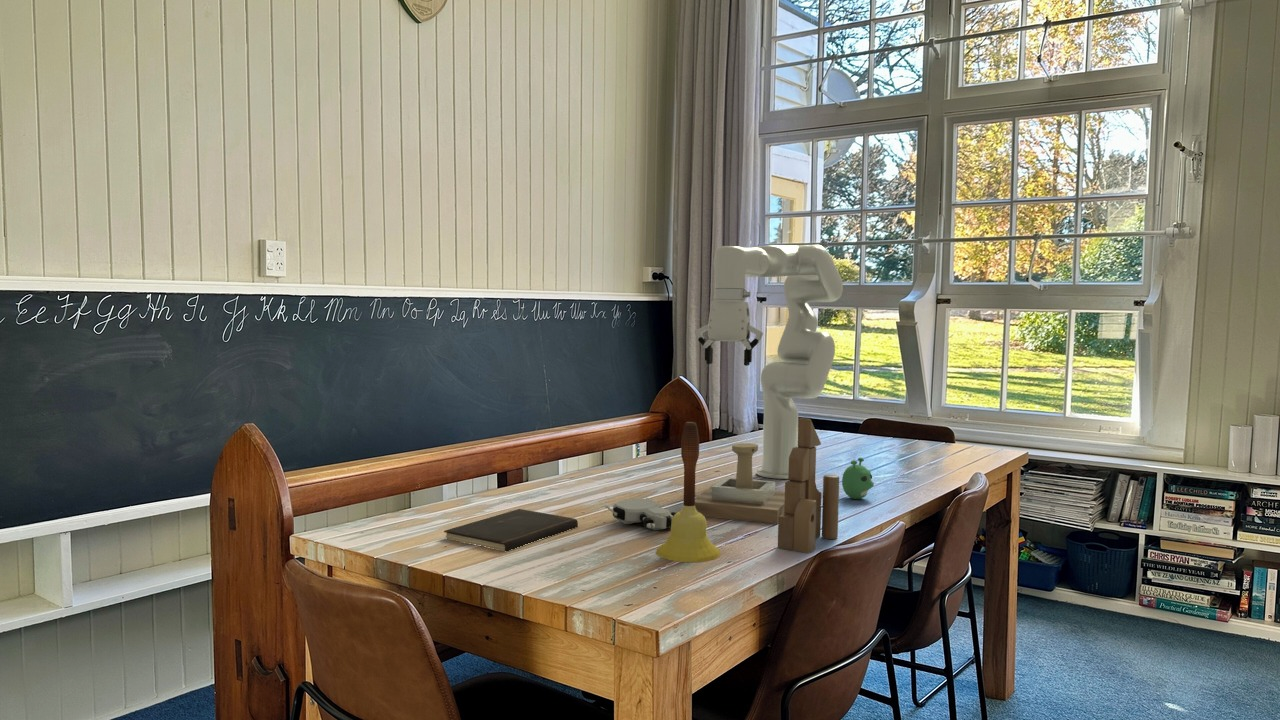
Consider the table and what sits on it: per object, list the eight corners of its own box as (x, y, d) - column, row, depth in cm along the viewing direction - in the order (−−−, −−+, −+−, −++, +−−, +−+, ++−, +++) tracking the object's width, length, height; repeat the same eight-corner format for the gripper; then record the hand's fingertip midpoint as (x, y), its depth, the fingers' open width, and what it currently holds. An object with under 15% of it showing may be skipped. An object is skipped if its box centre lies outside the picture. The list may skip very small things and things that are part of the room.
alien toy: (866, 503, 212) (867, 462, 212) (836, 499, 217) (837, 458, 216) (877, 498, 218) (879, 458, 217) (848, 494, 223) (849, 455, 222)
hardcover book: (444, 542, 175) (444, 530, 175) (519, 519, 194) (519, 508, 194) (505, 555, 166) (505, 543, 166) (578, 529, 186) (578, 519, 186)
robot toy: (690, 531, 187) (643, 513, 198) (692, 511, 187) (645, 493, 198) (648, 541, 179) (601, 521, 190) (649, 519, 179) (603, 501, 190)
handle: (760, 509, 205) (762, 445, 204) (742, 513, 200) (744, 448, 199) (744, 505, 208) (746, 442, 207) (726, 509, 204) (728, 445, 203)
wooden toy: (808, 554, 168) (812, 424, 167) (777, 548, 172) (780, 421, 170) (840, 537, 181) (843, 416, 179) (809, 532, 185) (812, 413, 183)
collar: (725, 489, 212) (725, 477, 211) (774, 494, 207) (775, 481, 207) (711, 499, 200) (711, 486, 200) (763, 504, 196) (763, 491, 196)
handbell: (730, 559, 164) (733, 426, 162) (667, 564, 160) (670, 427, 159) (707, 542, 176) (709, 417, 174) (647, 546, 172) (649, 418, 171)
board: (713, 497, 217) (713, 485, 217) (794, 504, 210) (795, 492, 210) (689, 514, 198) (689, 501, 198) (777, 523, 191) (777, 510, 191)
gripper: (766, 296, 220) (765, 365, 221) (700, 296, 226) (699, 362, 228) (760, 296, 213) (758, 366, 214) (691, 295, 219) (690, 364, 221)
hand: (727, 364), depth 221 cm, fingers open, 9 cm apart
